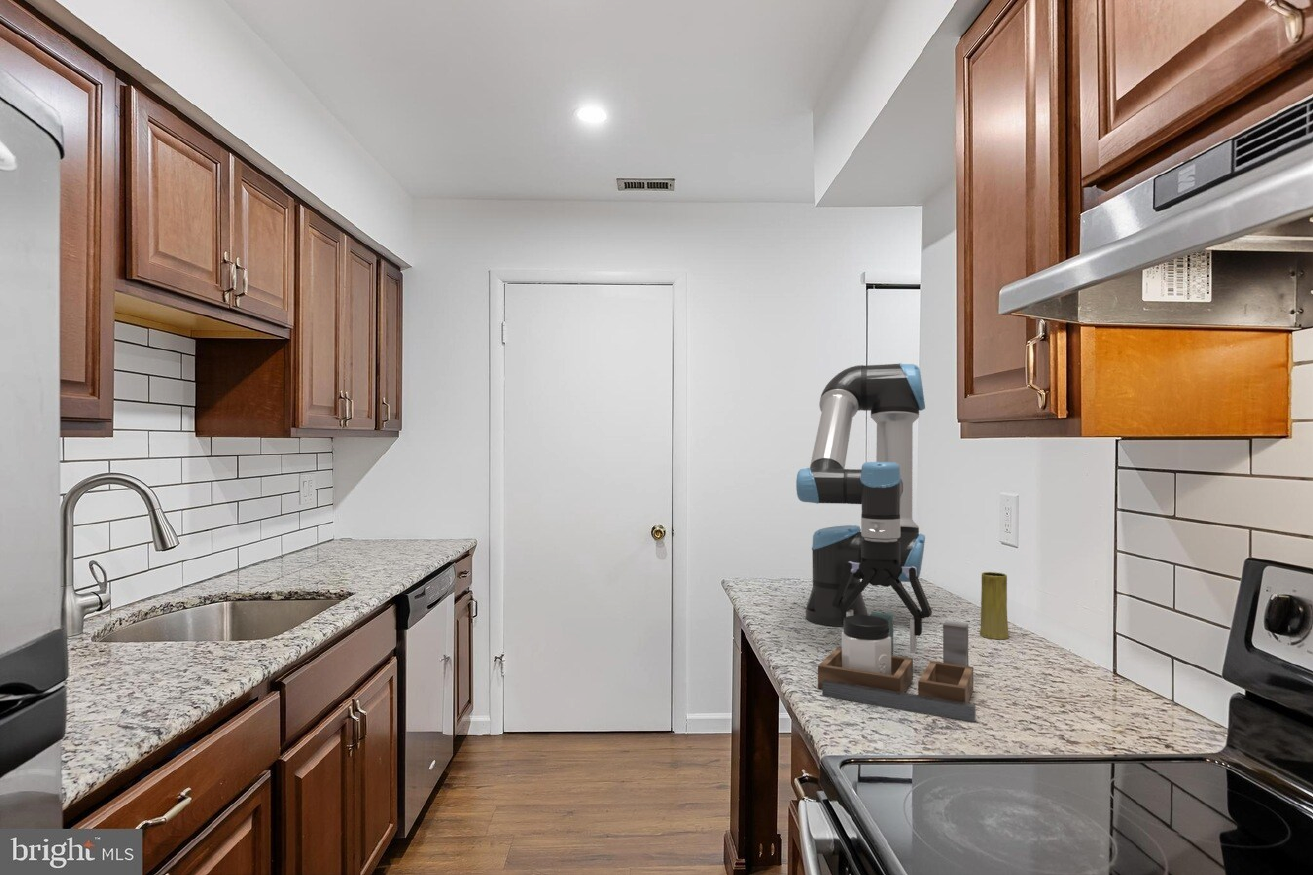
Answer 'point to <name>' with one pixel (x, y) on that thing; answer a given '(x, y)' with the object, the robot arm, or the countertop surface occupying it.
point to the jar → (866, 644)
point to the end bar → (900, 700)
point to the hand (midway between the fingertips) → (880, 647)
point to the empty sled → (950, 667)
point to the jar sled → (893, 682)
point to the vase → (994, 606)
